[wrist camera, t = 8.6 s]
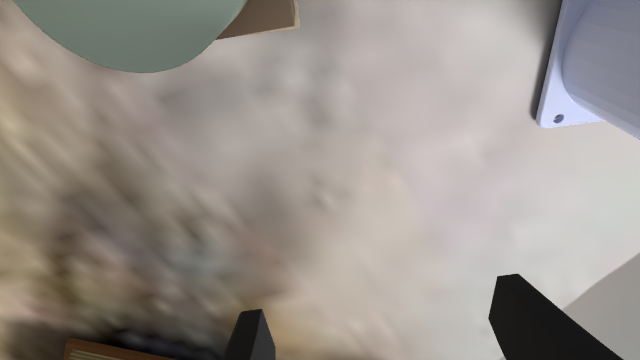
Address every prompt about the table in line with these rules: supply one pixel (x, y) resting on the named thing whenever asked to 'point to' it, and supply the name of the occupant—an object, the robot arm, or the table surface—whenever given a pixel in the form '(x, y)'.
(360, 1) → the table surface
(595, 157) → the table surface
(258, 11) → the walnut top block
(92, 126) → the table surface
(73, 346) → the diary
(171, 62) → the pale green short cylinder
